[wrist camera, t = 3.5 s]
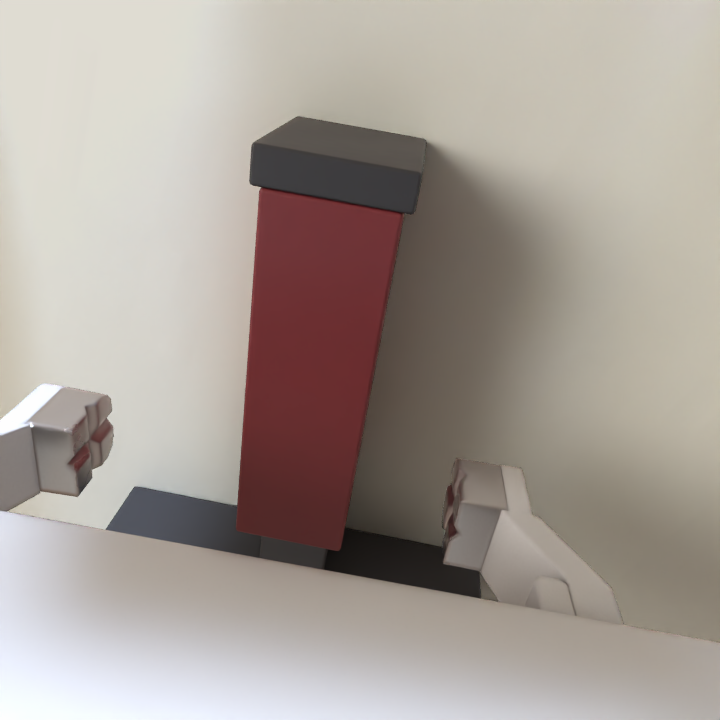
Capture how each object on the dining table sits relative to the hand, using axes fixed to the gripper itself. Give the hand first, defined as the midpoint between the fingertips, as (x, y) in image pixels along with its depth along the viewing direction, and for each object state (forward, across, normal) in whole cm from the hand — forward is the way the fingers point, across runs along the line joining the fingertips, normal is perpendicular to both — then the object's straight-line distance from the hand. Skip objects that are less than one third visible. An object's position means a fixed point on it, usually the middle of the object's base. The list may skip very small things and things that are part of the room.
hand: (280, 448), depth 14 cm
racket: (+4, 0, +5) cm, 7 cm away
